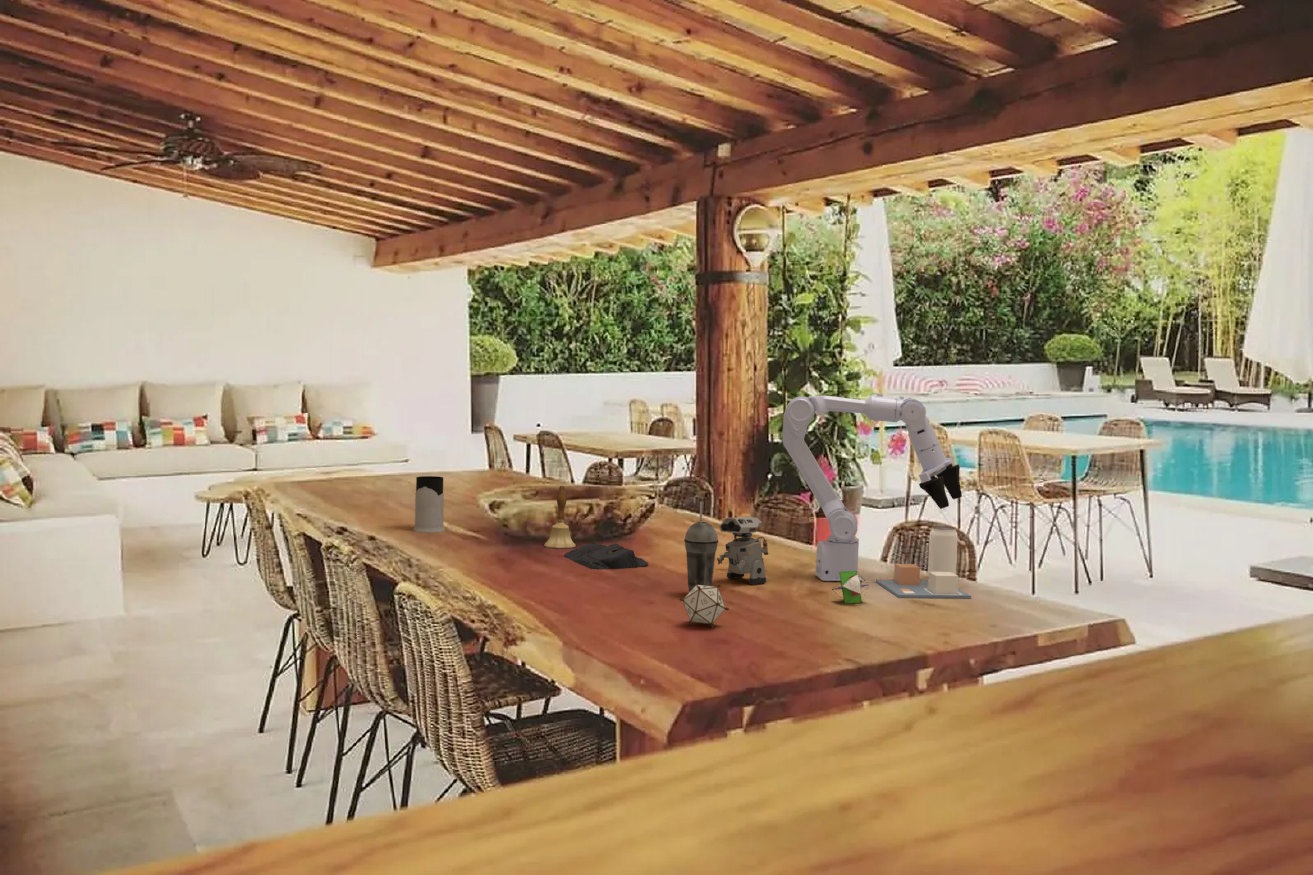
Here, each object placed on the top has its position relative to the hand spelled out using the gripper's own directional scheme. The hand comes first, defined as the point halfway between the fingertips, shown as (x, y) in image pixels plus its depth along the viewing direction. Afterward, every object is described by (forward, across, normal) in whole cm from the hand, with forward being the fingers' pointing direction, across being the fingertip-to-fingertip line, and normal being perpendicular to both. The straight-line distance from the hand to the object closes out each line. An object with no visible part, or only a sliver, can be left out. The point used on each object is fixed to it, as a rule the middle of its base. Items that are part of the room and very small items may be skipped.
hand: (951, 502), depth 268 cm
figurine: (-3, -35, +38) cm, 52 cm away
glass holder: (-42, -28, +139) cm, 148 cm away
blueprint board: (+15, -14, +8) cm, 22 cm away
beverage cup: (-5, -53, +35) cm, 64 cm away
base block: (+16, -16, +2) cm, 22 cm away
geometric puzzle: (+8, -37, +11) cm, 40 cm away
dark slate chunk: (-17, -35, +75) cm, 84 cm away
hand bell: (-24, -25, +97) cm, 103 cm away
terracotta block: (+12, -12, +12) cm, 21 cm away
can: (+17, +4, +12) cm, 21 cm away
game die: (-3, -76, +18) cm, 78 cm away
